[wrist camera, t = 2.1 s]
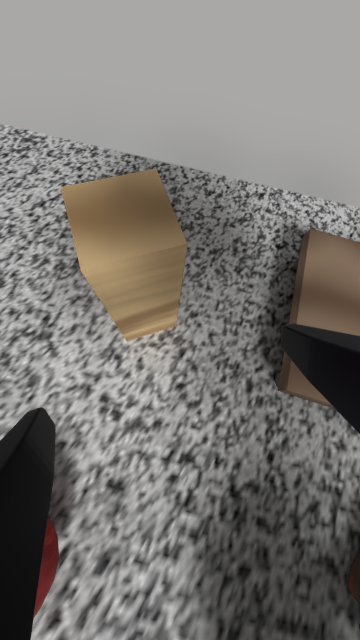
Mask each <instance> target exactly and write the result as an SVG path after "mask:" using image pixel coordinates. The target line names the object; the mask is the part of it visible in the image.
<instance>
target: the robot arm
mask: <svg viewBox="0 0 360 640" xmlns="http://www.w3.org/2000/svg"><path fill="white" fill-rule="evenodd" d="M281 346H282V348H283V350H284V351H285V353H286V354H287V355H288V356H289V358H290V359H291V360H292V361H293V363H294V364H295V365H296V366H297V368H298V369H299V370H300V371H301V373H302V374H303V375H304V376H305V378H306V379H307V380H308V381H309V382H310V383H311V384H312V385H313V386H314V387H315V388H316V389H317V390H318V391H319V392H320V393H321V395H322V396H323V397H324V398H325V399H326V400H327V401H328V402H329V403H330V404H331V405H332V406H333V407H334V408H335V409H336V410H337V411H338V412H339V413H340V414H341V415H342V416H343V417H344V418H345V419H346V420H347V421H348V422H349V423H350V424H351V425H352V426H353V427H354V428H355V430H356V431H357V432H358V433H359V434H360V336H358V335H352V334H347V333H342V332H336V331H331V330H326V329H320V328H315V327H310V326H304V325H299V324H294V323H291V324H288V325H285V326H283V327H282V329H281ZM54 461H55V425H54V422H53V421H52V419H51V418H50V416H49V415H48V413H47V412H46V410H45V409H44V408H41V407H40V408H37V409H34V410H31V411H29V412H27V413H26V414H25V415H24V417H23V418H22V419H21V420H20V421H19V422H18V423H17V424H16V425H15V426H14V427H13V428H12V429H11V430H10V431H9V432H8V433H7V434H6V435H5V436H4V437H3V439H2V440H1V441H0V640H30V639H31V632H32V625H33V618H34V611H35V604H36V597H37V590H38V583H39V576H40V569H41V562H42V556H43V549H44V542H45V535H46V528H47V521H48V514H49V507H50V500H51V493H52V486H53V478H54Z"/></svg>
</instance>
